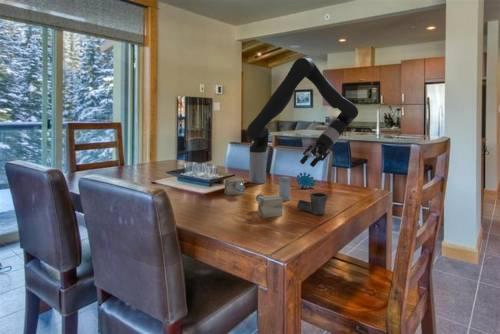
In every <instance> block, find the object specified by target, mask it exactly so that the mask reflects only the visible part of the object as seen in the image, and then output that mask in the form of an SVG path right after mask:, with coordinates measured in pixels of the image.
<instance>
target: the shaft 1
mask: <svg viewBox="0 0 500 334" xmlns="http://www.w3.org/2000/svg"><path fill="white" fill-rule="evenodd" d="M233 188H234V189H235V190H237V191H239V192H244V193H245V190H246V186H245V184H244V185H242V184H240V183H238V182H234V183H233Z"/></svg>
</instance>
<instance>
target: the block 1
mask: <svg viewBox="0 0 500 334" xmlns="http://www.w3.org/2000/svg"><path fill="white" fill-rule="evenodd" d="M234 182H238V183H240V184H242V185H244V186H245V180H244V179H243V178H240V177H236V178H234V177H233V178H224V194H225V195H227V196H238V195H244V193H245V191H244V192H239V191H237V190H235V189H234V188H233V183H234Z"/></svg>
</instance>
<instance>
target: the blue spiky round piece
mask: <svg viewBox="0 0 500 334" xmlns="http://www.w3.org/2000/svg"><path fill="white" fill-rule="evenodd" d="M296 182H297V185H298V186H300V187H301V188H303V189H305V190H308V189H312V187H314V186H315V184H316V183H317V179H314V176H311V174H310V173H308V174H307V173H306V172H305V171H304V173H303V172H299V174H298V175H296ZM304 186H305V187H304ZM311 186H312V187H311Z"/></svg>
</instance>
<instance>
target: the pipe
mask: <svg viewBox="0 0 500 334" xmlns="http://www.w3.org/2000/svg"><path fill="white" fill-rule="evenodd" d="M309 197H310V201H308V200H304V199H299V200H298V202H297V205H296V206H297V209H298V210H301V211H304V212H305V211H306V212H308V213H311V214H313V215H316V216H322V215H324V214H325V212H326V210H325V209H326V204H327V200H328V198H329V195H328V193H327V194H326V193H324V192H313V193H310V194H309Z"/></svg>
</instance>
